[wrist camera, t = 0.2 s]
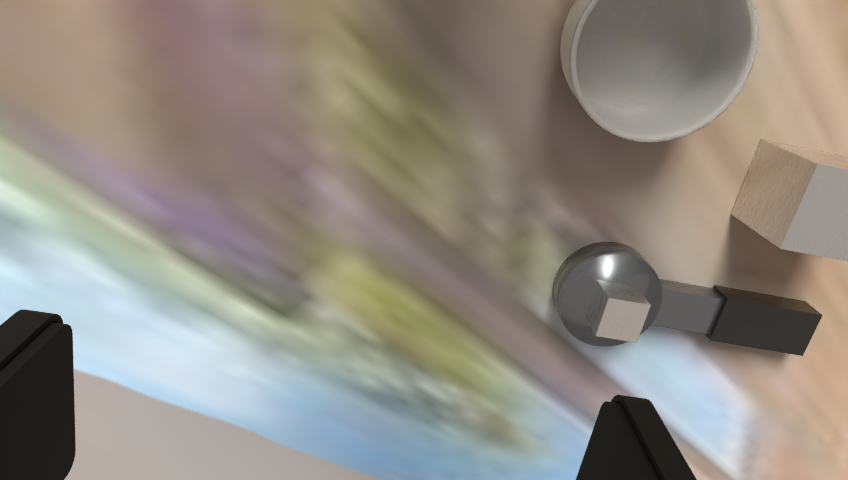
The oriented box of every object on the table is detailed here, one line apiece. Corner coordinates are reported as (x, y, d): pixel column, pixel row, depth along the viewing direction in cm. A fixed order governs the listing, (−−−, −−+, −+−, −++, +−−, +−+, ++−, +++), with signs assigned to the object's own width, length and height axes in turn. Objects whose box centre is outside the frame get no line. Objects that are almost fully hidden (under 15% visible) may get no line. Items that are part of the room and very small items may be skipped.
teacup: (708, 95, 45) (766, 116, 38) (561, 136, 46) (590, 165, 39) (684, -116, 40) (746, -140, 33) (520, -66, 41) (544, -77, 34)
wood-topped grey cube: (760, 139, 47) (817, 163, 40) (835, 153, 47) (903, 180, 41) (730, 213, 49) (780, 248, 42) (802, 227, 49) (861, 264, 43)
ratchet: (815, 278, 51) (860, 310, 46) (776, 361, 54) (814, 400, 49) (568, 233, 49) (586, 262, 44) (541, 321, 52) (555, 358, 47)
